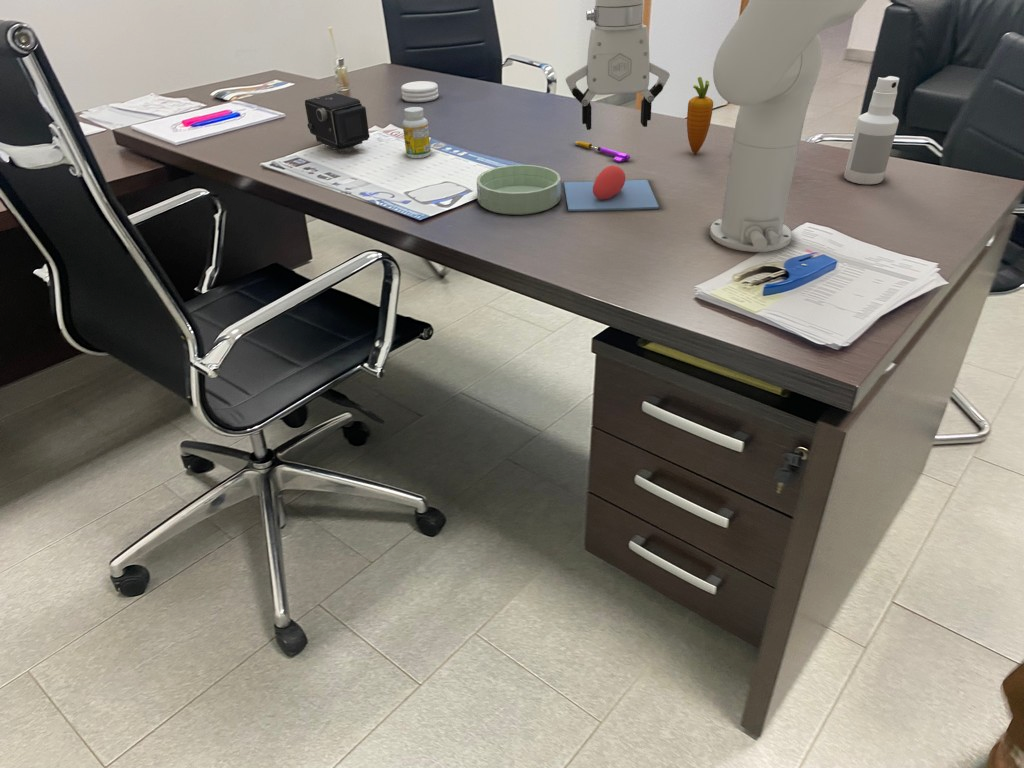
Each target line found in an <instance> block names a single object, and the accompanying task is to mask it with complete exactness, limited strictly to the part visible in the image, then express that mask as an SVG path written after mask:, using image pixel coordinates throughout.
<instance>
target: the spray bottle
mask: <svg viewBox="0 0 1024 768" xmlns="http://www.w3.org/2000/svg"><path fill="white" fill-rule="evenodd" d="M899 83H900V77H898V76H893V75H888V76H886V77H879V76H878V77H877V81H876V86H875V87H874V89H873V90H872V94H871V99H870V102H869V106H868V108H867V109H868V110H867V112H865V113H861V114H860V115H859V116H858V118H857V120H856V123H855V124H856V125H855V128H854V132H853V137H852V141H851V144H850V145H851V146H850V149H849V154H848V157H847V161H846V166H845V170H844V173H843V178H844V179H845V180H847V181H848V182H851V183H854V184H858V185H867V186H868V185H869V186H870V185H877V184H880V183H882V182H883V180H884V177H885V175H886V171H887V167H888V163H889V159H890V155H891V152H892V147H893V144H894V141H895V137H896V133H897V130H898V126H899V124H900V123H899V122H900V120H899V118H898V117H897V116H895V114H894V113H893V112H894V109H895V105H896V100H897V95H898V86H899Z"/></svg>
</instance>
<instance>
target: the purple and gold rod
mask: <svg viewBox="0 0 1024 768" xmlns="http://www.w3.org/2000/svg"><path fill="white" fill-rule="evenodd" d="M574 143H575V145H578V146H580V147H583V148H585V149H588V150H591V149H596V150H597V151H598V152H599V153H602V154H606V155H610V156H613V157H614V158H612V159H613V160H612V161H613V162H616V163H619V164H620V163H622V162H627V161H629V160H630V159H631V155H630V154H629V153H624V152H621V151H616V150H614V149H610V148H606V147H603V146H598V147H596V146H593V144H592V143H590V142H585V141H582V140H576V141H575V142H574Z"/></svg>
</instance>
